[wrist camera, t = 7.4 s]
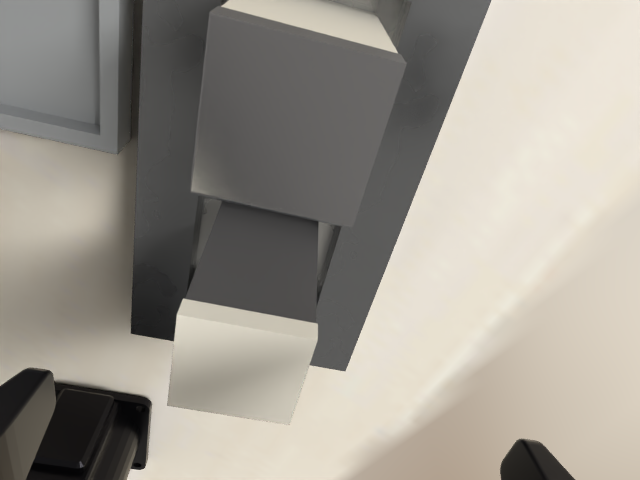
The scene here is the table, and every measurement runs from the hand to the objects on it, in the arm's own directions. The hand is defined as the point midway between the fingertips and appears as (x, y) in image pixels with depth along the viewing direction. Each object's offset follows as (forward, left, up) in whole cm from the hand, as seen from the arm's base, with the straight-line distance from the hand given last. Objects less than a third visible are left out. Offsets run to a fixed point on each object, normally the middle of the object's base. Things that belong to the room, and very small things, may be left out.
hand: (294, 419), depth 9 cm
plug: (+4, +1, -11) cm, 12 cm away
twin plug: (-4, +1, -11) cm, 12 cm away
